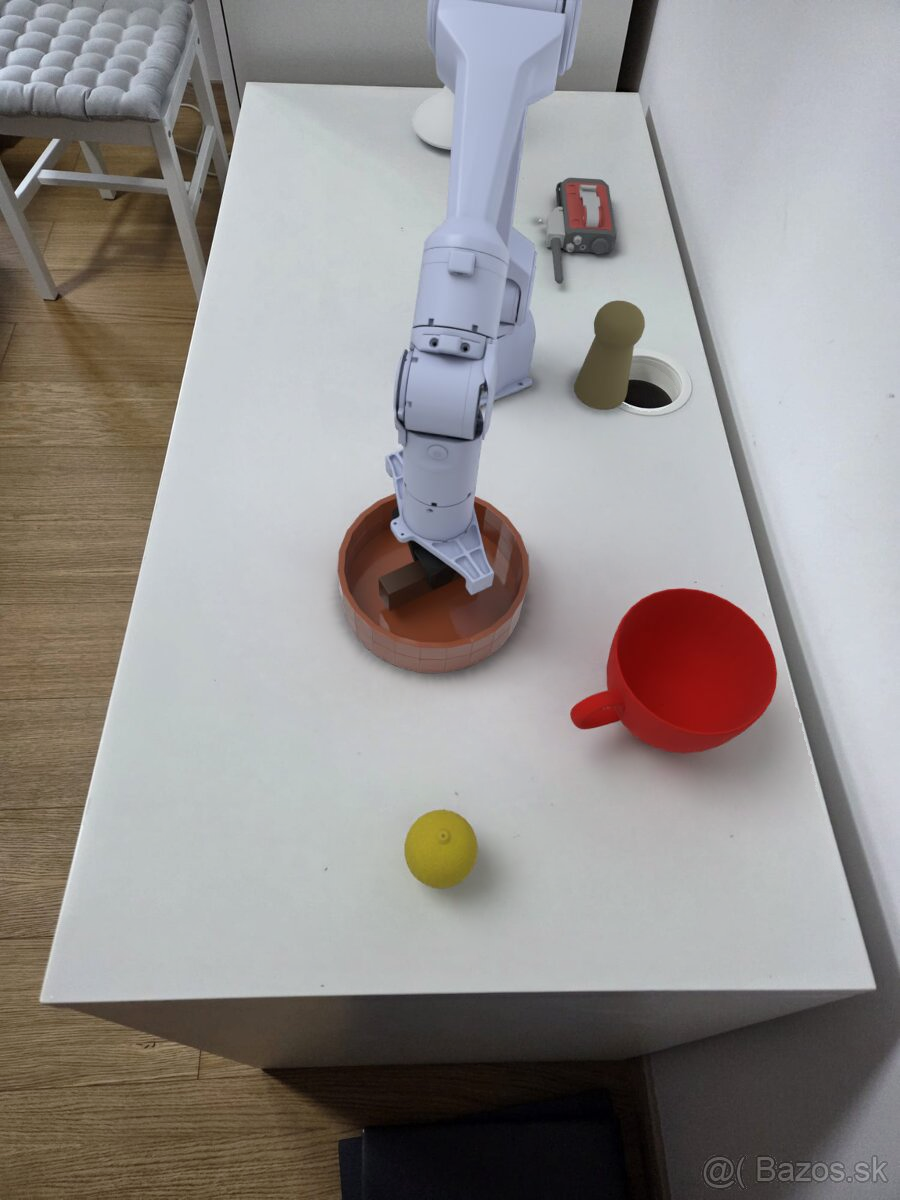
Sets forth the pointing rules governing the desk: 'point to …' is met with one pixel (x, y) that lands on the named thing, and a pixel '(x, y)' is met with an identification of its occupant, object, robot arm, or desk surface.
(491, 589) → the bowl
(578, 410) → the desk surface
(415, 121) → the flower in vase
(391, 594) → the brown rectangular block
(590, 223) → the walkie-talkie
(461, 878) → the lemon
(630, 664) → the ceramic cup
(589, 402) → the olive brown pawn
